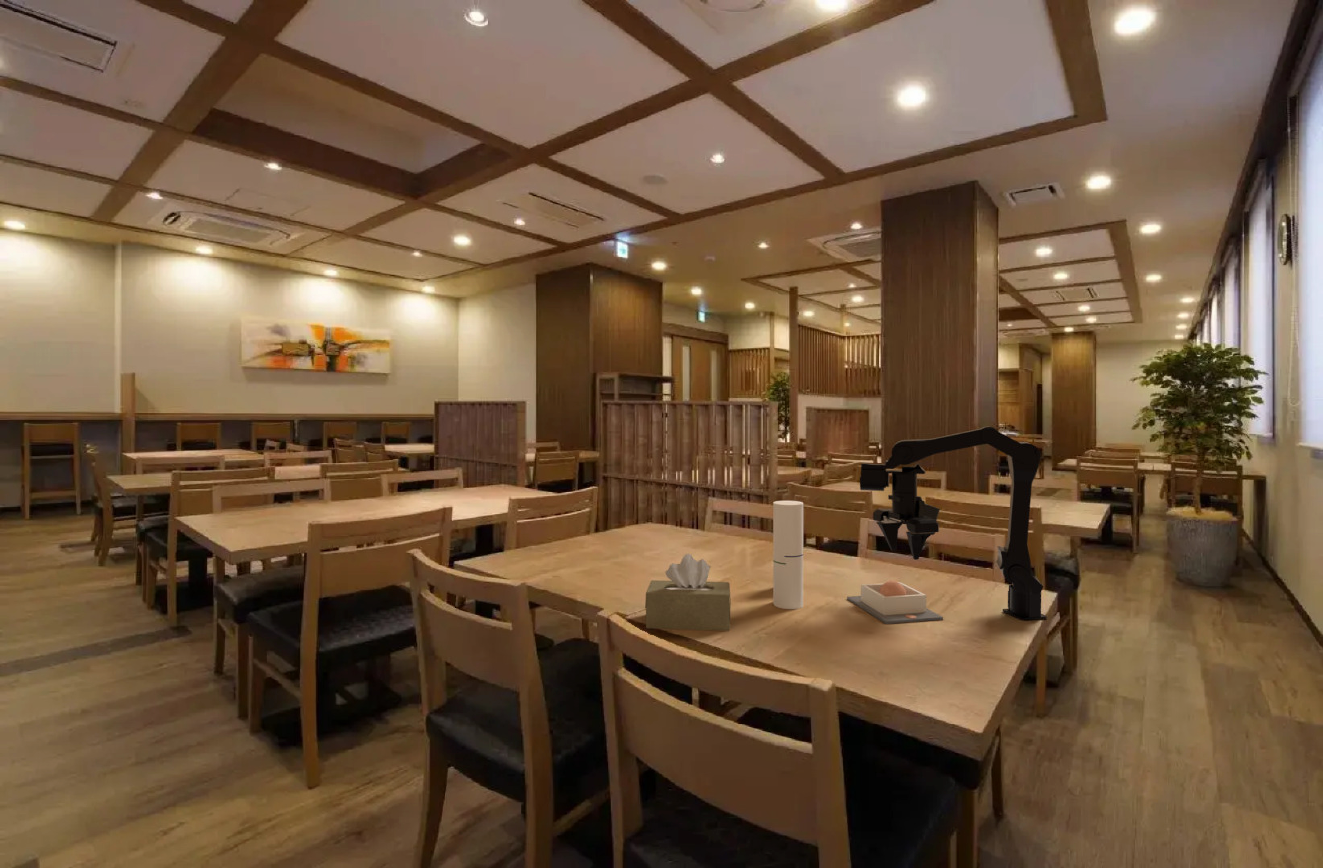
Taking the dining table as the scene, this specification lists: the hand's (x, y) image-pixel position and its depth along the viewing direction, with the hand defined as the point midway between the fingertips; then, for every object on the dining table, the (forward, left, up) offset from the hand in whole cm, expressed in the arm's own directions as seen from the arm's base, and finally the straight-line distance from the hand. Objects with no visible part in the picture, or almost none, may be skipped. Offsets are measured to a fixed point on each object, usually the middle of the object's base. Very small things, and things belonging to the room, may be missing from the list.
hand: (904, 555), depth 148 cm
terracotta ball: (-4, +5, -8) cm, 11 cm away
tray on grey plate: (-4, +5, -12) cm, 13 cm away
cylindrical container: (+4, +28, -12) cm, 31 cm away
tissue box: (-3, +55, -12) cm, 56 cm away
